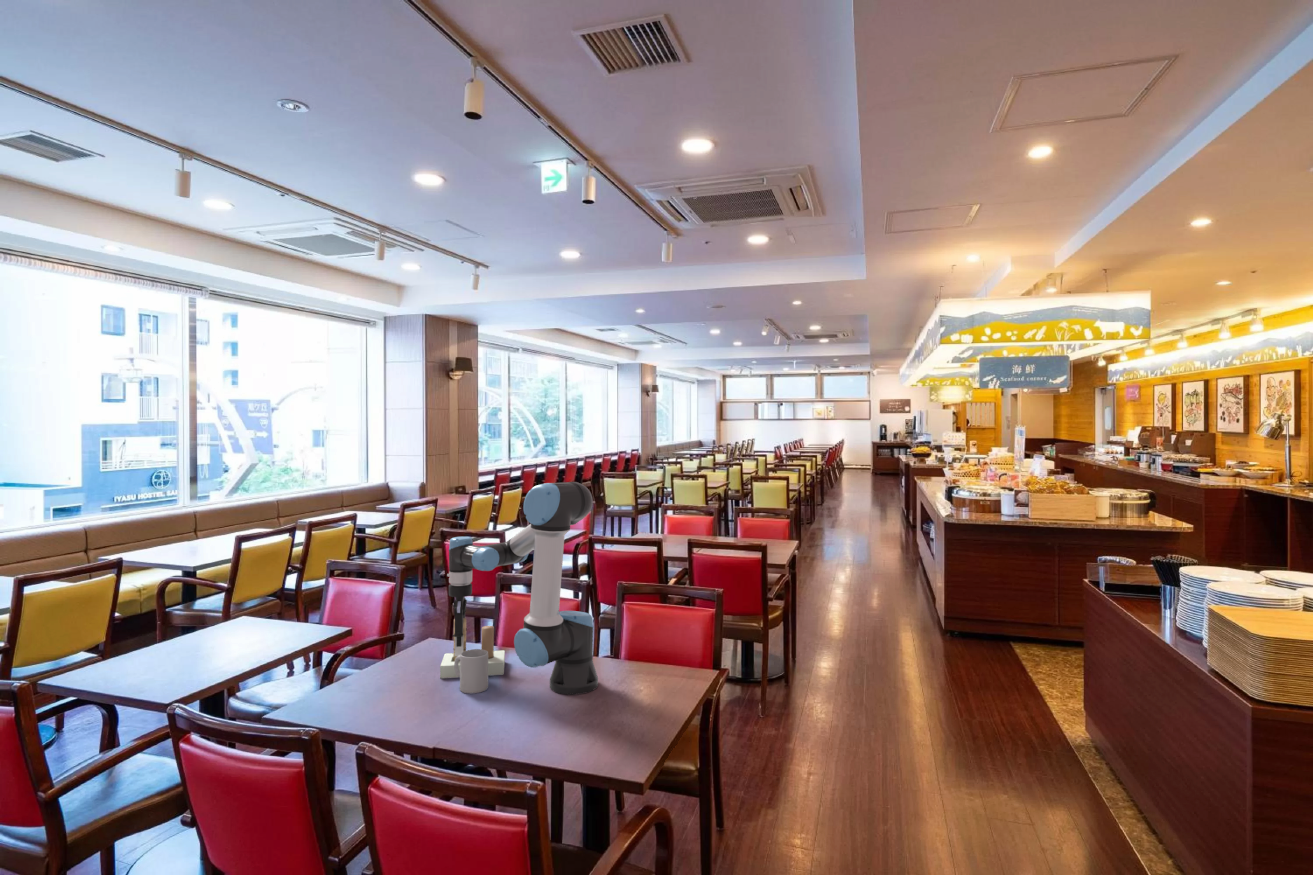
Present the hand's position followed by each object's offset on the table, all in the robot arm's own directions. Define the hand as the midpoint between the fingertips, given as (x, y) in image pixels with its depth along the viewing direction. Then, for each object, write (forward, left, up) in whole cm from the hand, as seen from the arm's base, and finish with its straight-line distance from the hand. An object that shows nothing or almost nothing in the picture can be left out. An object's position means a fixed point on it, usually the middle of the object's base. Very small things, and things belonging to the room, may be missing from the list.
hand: (459, 653), depth 223 cm
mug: (-5, +17, -6) cm, 18 cm away
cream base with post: (-5, 0, -6) cm, 7 cm away
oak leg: (0, 0, -3) cm, 3 cm away
